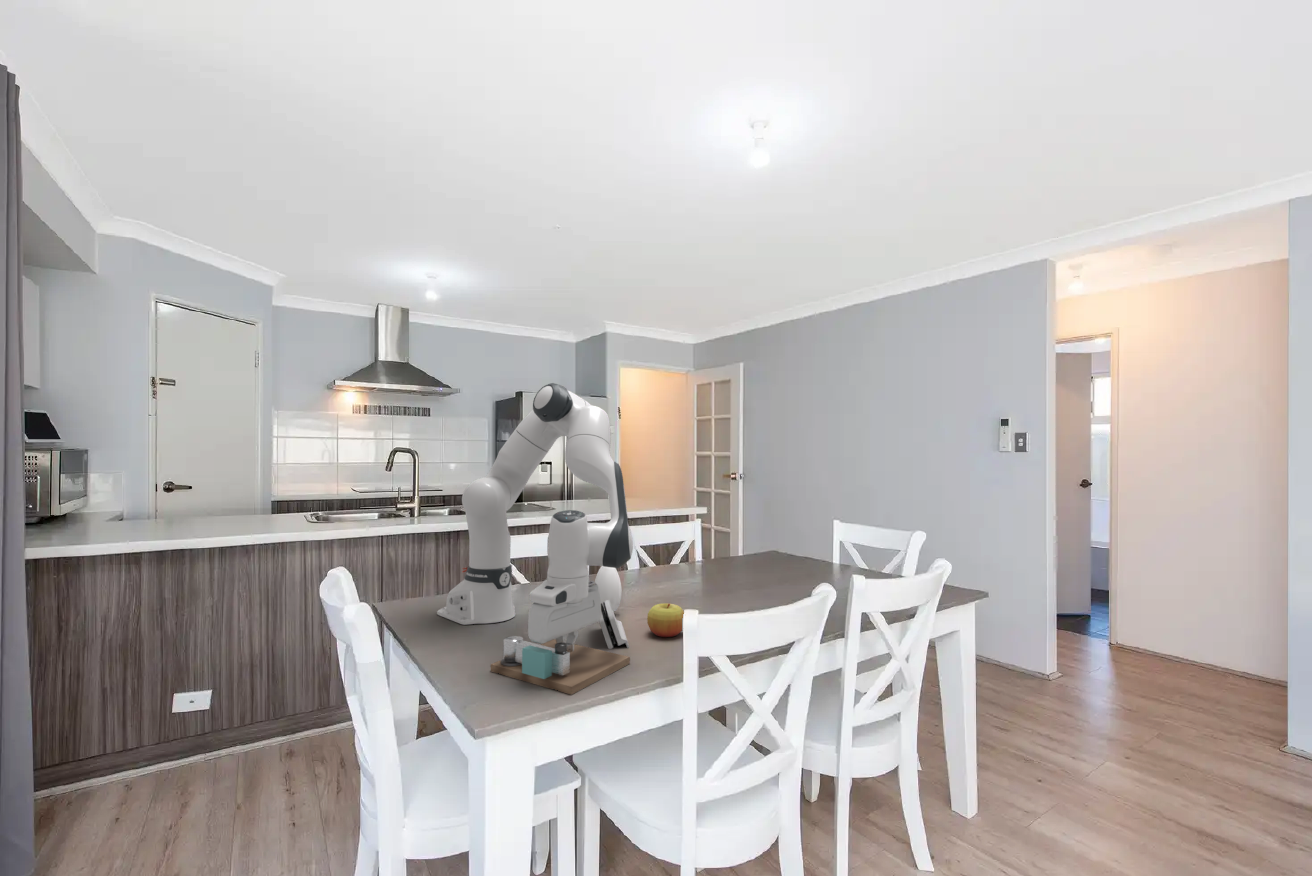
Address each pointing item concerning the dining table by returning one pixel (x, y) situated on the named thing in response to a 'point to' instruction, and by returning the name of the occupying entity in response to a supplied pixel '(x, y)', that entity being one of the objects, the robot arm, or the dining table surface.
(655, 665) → the dining table surface
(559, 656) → the lock bar
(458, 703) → the dining table surface
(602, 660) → the wooden cutting board
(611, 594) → the white tall oval piece
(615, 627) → the white slotted block
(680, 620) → the apple
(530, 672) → the block
